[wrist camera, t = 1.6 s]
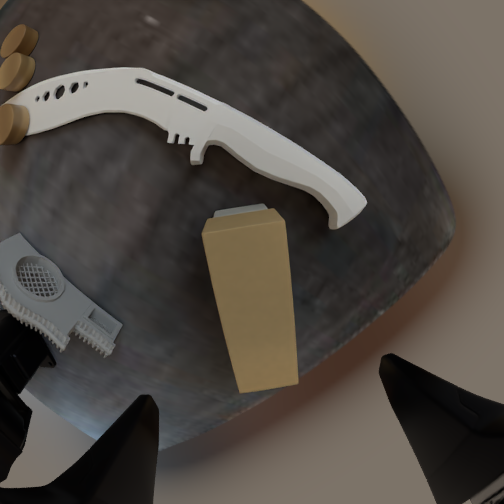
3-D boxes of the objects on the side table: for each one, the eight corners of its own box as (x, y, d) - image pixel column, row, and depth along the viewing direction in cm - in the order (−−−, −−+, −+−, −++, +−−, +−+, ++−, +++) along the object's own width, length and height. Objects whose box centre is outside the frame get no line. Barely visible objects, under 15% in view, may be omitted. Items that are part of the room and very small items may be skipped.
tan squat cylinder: (8, 151, 12) (-9, 152, 11) (4, 117, 11) (-12, 116, 10) (31, 133, 12) (14, 133, 11) (28, 98, 11) (12, 95, 10)
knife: (-20, 121, 11) (18, 35, 9) (-8, 121, 12) (29, 39, 10) (304, 303, 16) (375, 197, 14) (299, 291, 18) (364, 193, 16)
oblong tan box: (236, 344, 19) (239, 393, 15) (209, 211, 16) (201, 233, 11) (284, 336, 20) (298, 384, 15) (268, 202, 16) (285, 220, 11)
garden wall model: (127, 323, 18) (100, 376, 13) (118, 336, 19) (92, 389, 13) (19, 227, 15) (-31, 252, 9) (13, 244, 15) (-33, 271, 10)
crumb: (12, 68, 10) (-2, 64, 8) (16, 41, 9) (3, 36, 7) (36, 51, 10) (22, 45, 9) (40, 24, 9) (28, 17, 8)
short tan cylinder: (10, 98, 11) (-5, 96, 9) (12, 68, 10) (-2, 64, 8) (34, 81, 11) (19, 77, 10) (36, 51, 10) (22, 45, 9)
